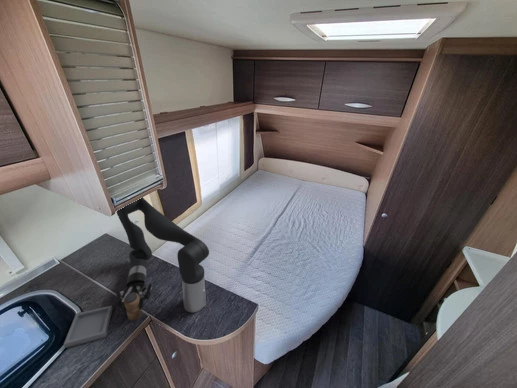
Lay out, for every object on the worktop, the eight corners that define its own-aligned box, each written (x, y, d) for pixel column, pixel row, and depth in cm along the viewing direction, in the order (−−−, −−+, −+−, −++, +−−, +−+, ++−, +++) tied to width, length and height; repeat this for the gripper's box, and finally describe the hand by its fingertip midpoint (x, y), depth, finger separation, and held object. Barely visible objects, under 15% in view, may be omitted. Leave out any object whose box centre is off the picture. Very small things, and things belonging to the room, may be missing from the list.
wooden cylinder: (142, 307, 90) (139, 289, 86) (141, 318, 86) (137, 300, 81) (129, 311, 88) (124, 293, 84) (127, 322, 84) (122, 303, 79)
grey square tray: (112, 309, 88) (111, 305, 87) (105, 337, 78) (104, 333, 77) (77, 317, 83) (76, 313, 82) (65, 348, 74) (63, 344, 73)
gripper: (117, 275, 92) (108, 308, 78) (153, 268, 97) (150, 298, 83) (120, 287, 95) (112, 321, 81) (154, 280, 100) (152, 311, 86)
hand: (131, 309), depth 82 cm, fingers closed on wooden cylinder, 5 cm apart
